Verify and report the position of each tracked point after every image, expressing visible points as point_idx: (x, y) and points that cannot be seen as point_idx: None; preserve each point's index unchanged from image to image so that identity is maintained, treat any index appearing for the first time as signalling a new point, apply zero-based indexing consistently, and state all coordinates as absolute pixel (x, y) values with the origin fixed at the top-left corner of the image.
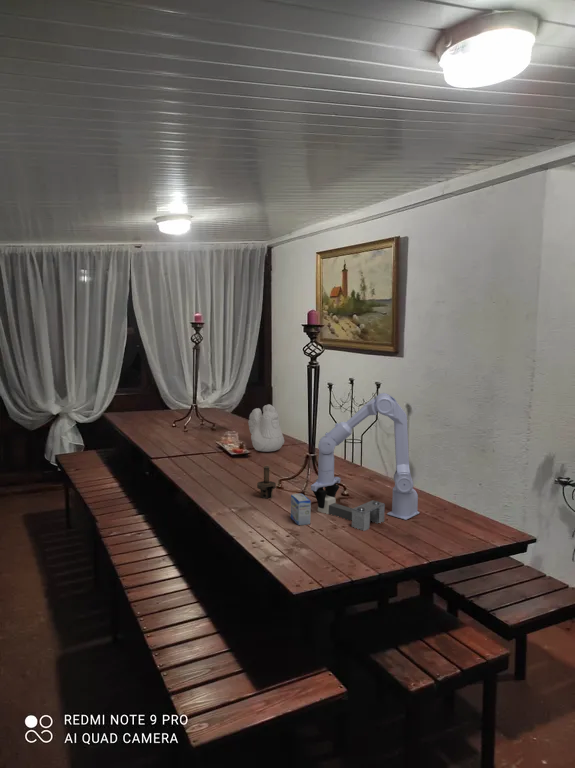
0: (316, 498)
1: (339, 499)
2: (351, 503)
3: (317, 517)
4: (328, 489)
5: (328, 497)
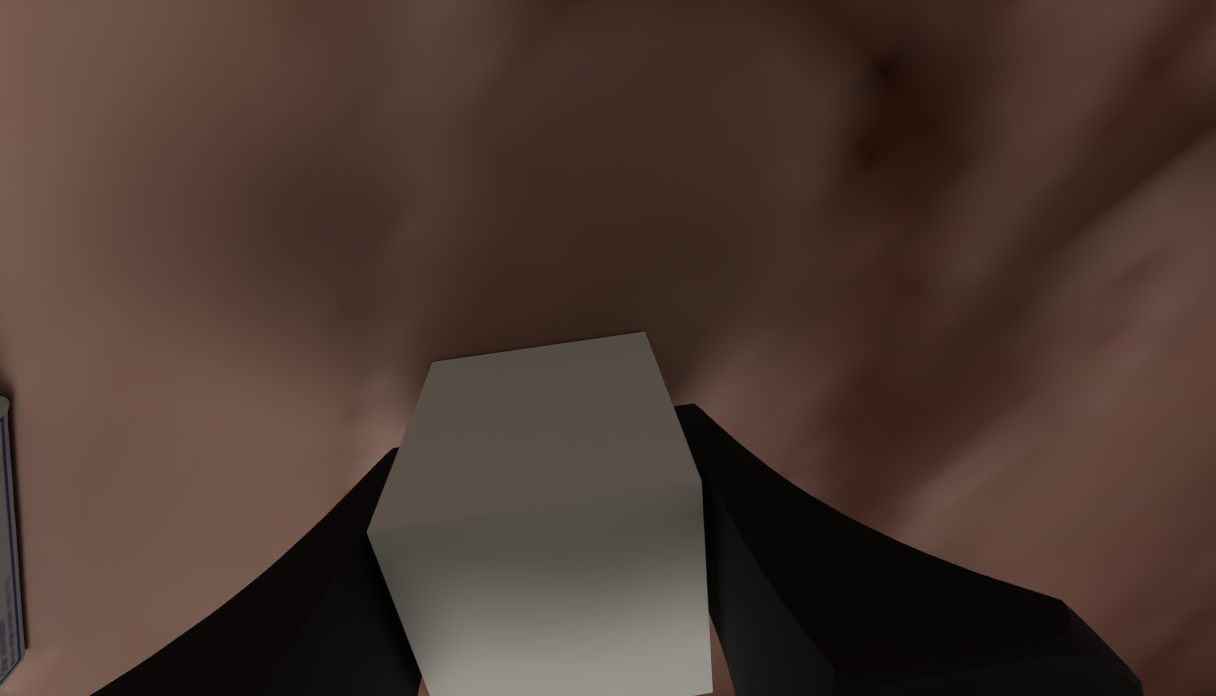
0: (272, 577)
1: (1191, 142)
2: (1093, 402)
3: (268, 535)
4: (772, 689)
5: (610, 624)
